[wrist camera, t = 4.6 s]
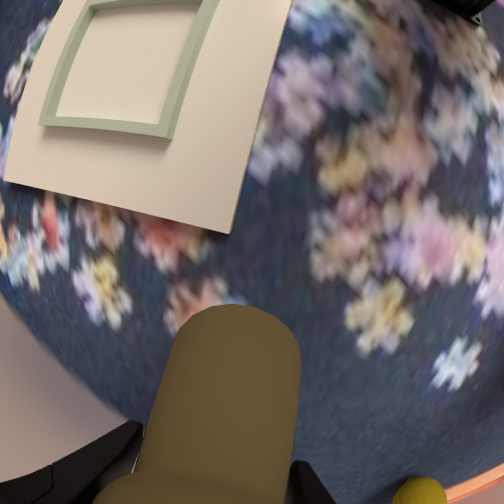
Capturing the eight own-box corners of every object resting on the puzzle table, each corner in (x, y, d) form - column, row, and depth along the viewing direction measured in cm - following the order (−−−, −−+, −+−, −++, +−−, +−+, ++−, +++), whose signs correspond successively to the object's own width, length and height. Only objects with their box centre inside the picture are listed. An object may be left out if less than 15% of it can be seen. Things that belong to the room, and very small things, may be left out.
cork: (227, 425, 14) (188, 611, 3) (148, 346, 13) (15, 529, 2) (326, 374, 13) (374, 600, 2) (248, 276, 12) (162, 575, 1)
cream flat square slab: (300, -23, 13) (302, -41, 11) (231, 231, 16) (225, 236, 14) (82, -18, 13) (71, -28, 11) (12, 180, 16) (-6, 180, 15)
